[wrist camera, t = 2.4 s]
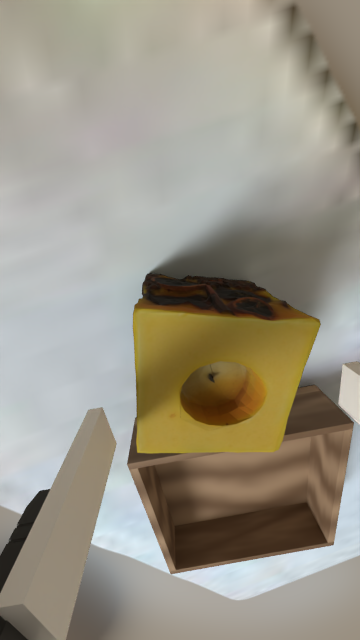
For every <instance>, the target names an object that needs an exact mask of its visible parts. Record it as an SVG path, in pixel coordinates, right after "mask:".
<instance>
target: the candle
mask: <svg viewBox="0 0 360 640" xmlns="http://www.w3.org/2000/svg"><path fill="white" fill-rule="evenodd" d="M142 295H143V298H142V299H139V301H138V303H137V304H135V307H134V312H133V334H134V350H135V370H136V396H137V439H136V444H137V453H151V454H152V453H203V452H234V453H242V452H275V451H277V450H279V448H280V446H281V443H282V441H283V437H284V433H285V429H286V424H287V420H288V416H289V413H290V410H291V407H292V404H293V401H294V398H295V395H296V392H297V389H298V385H299V382H300V379H301V376H302V373H303V370H304V367H305V365H306V362H307V360H308V357H309V355H310V352H311V349H312V347H313V344H314V341H315V338H316V336H317V333H318V330H319V327H320V325H321V324H320V321H319V319H317V318H314V317H312V316H309V315H307V314H305V313H303V312H301V311H299V310H296V309H294V308H293V307H291V306H290V305H289V304H287V302H286V301H281V300H279V299H277V298H275V297H273V296H272V295H271V294H270V293H268V292H267V291H266V290H265V289H264V288H261V287H257V286H256V285H255V283H253V282H249V281H243V280H229V279H224V278H221V279H220V278H212V277H211V278H206V277H200V276H194V277H191V276H189V275H188V276H186V277H185V278H184V279H181V280H179V279H175V278H171V277H167V276H165V275H162V274H155V273H153V274H147V275H146V277H145V281H144V282H143V285H142Z"/></svg>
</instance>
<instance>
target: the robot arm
mask: <svg viewBox="0 0 360 640" xmlns="http://www.w3.org/2000/svg"><path fill="white" fill-rule="evenodd" d="M338 405H340V406H341V407H342V408H343V409H344V410H345V411H346V412H347V413H348V414H349V415H350V416H351V417H352V418H353V419H354V420H355V421H356V422H357V423H358V424H359V425H360V363H359V362H351V363H346V364H343V367H342V376H341V386H340V395H339V404H338ZM115 448H116V441H115V438H114V436H113V433H112V431H111V428H110V426H109V423H108V421H107V418H106V415H105V413H104V410H103V408H102V407H101V408H96V409H90V410H88V412H87V414H86V416H85V418H84V420H83V422H82V424H81V427H80V429H79V431H78V433H77V435H76V437H75V439H74V441H73V443H72V445H71V447H70V449H69V451H68V454H67V456H66V458H65V460H64V462H63V464H62V466H61V468H60V470H59V472H58V474H57V476H56V479H55V481H54V483H53V485H52V487H51V489H48V490H42V491H39V492H38V494H37V495H36V496H35V497H34V499H33V500H32V501H31V502H30V503H29V505H28V506H27V507H26V509H25V511H24V513H23V515H22V517H21V518H20V520H19V522H18V524H17V528H15V530H14V531H13V533H12V535H11V537H10V539H9V543H8V544H6V546H5V548H4V550H3V552H2V554H1V555H0V640H66V636H67V632H68V628H69V624H70V621H71V617H72V613H73V609H74V605H75V602H76V598H77V594H78V590H79V586H80V582H81V579H82V574H83V571H84V567H85V563H86V559H87V555H88V552H89V548H90V544H91V540H92V536H93V532H94V529H95V525H96V521H97V517H98V513H99V509H100V506H101V502H102V498H103V494H104V490H105V486H106V482H107V479H108V475H109V471H110V467H111V463H112V459H113V456H114V452H115Z"/></svg>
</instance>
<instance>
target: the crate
mask: <svg viewBox="0 0 360 640" xmlns="http://www.w3.org/2000/svg"><path fill="white" fill-rule="evenodd" d="M353 425H354V422H353V421H352V420H351V419H350V418H349V417H348V416H347V415H345V414H344V413H343V412H342V411H341V410H340V409H339V408H338V407H337V406H336V405H335V404H334V403H333V402H332V401H331V400H330V399H329V398H328V397H327V396H326V395H325V394H324V393H323V392H322V391H321V390H320V389H319V388H318V387H317V386H316V385H311V386H306V387H301V388H298V389H297V392H296V395H295V398H294V401H293V404H292V407H291V410H290V413H289V416H288V420H287V424H286V429H285V433H284V437H283V441H282V443H281V446H280V448H279V450H277V451H275V452H242V453H234V452H203V453H152V454H151V453H137V444H136V439H137V418H135V422H134V428H133V434H132V440H131V445H130V451H129V457H128V463H127V465H128V467H129V470H130V472H131V475H132V478H133V480H134V483H135V485H136V488H137V490H138V493H139V495H140V498H141V500H142V503H143V505H144V508H145V510H146V513H147V515H148V518H149V520H150V523H151V525H152V528H153V530H154V533H155V535H156V538H157V540H158V543H159V546H160V548H161V551H162V553H163V556H164V558H165V561H166V563H167V566H168V568H169V571H170V573H171V574H174V573H180V572H186V571H191V570H197V569H202V568H208V567H214V566H219V565H225V564H230V563H236V562H242V561H247V560H253V559H258V558H264V557H269V556H275V555H281V554H286V553H292V552H297V551H303V550H309V549H314V548H320V547H325V546H331V545H334V539H335V533H336V527H337V521H338V515H339V509H340V503H341V497H342V491H343V485H344V479H345V473H346V467H347V461H348V455H349V449H350V443H351V437H352V431H353Z"/></svg>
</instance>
